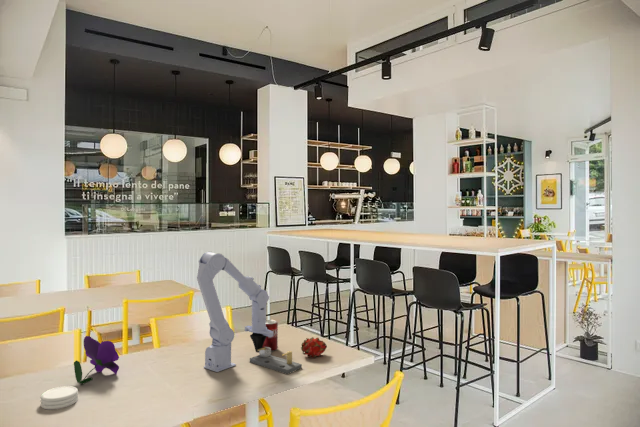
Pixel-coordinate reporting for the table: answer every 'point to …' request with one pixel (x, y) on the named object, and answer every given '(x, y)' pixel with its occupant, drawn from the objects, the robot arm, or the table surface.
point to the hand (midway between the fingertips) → (258, 351)
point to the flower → (97, 358)
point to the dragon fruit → (313, 347)
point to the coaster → (59, 397)
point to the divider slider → (264, 352)
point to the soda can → (273, 341)
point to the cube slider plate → (277, 363)
